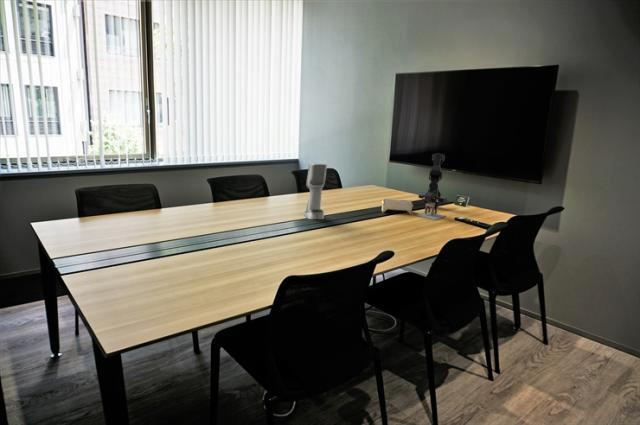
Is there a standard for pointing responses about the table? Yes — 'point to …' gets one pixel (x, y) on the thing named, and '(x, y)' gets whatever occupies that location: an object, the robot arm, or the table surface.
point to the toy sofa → (397, 205)
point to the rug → (431, 216)
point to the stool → (430, 208)
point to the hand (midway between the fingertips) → (431, 210)
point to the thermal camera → (315, 190)
